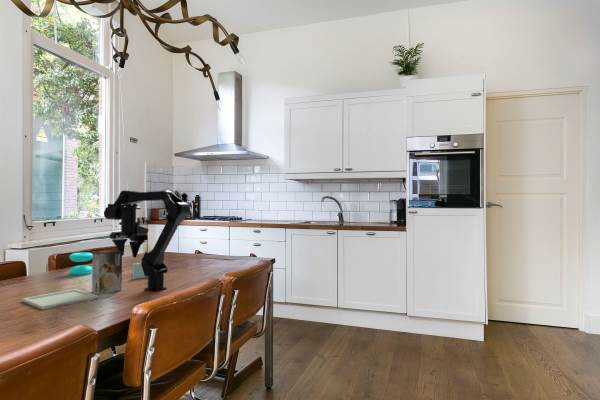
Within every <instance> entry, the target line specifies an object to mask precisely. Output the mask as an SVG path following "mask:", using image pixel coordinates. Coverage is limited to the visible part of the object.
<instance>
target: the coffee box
mask: <svg viewBox="0 0 600 400" xmlns="http://www.w3.org/2000/svg"><path fill="white" fill-rule="evenodd" d="M92 254H93V258H92V259H91V261H92V262H91V263H92V266H91V267H92V273H91V284H92V286H91V292H92V293H93V294H96V295H97V294H98V295H103V294H108V293H113V292H118V291H122V290H123V289H122V288H123V287H122V286H123V285H122V284H123V283H122V281H123V280H122V279H123V278H122V277H123V275H122V274H123V273H122V272H123V271H122V270H123V269H122V268H123V266H122V265H123V256H122V251H118V250H115V249H114V250H101V251H92Z"/></svg>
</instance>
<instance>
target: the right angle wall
mask: <svg viewBox="0 0 600 400" xmlns="http://www.w3.org/2000/svg"><path fill="white" fill-rule="evenodd" d="M143 278H148V276H145V275H144V272H143V268H142V266H141V262H138V263H137V262H136V263H132V279H133V280H136V279H143Z"/></svg>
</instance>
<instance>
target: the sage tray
mask: <svg viewBox="0 0 600 400" xmlns="http://www.w3.org/2000/svg"><path fill="white" fill-rule="evenodd" d="M97 299H98V295H97V294H95V293H90V292H87V291H84V290H81V289H79V288H78V289H77V288H74V289H73V288H72V289H67V290H60V291H57V292H51V293H45V294H40V295H34V296H28V297H22V302H23V303H25V304H28V305H30V306H32V307H35V308H36V309H40V310H41V311H44V310H49V309H53V308H57V307H63V306H68V305H73V304H79V303H82V302H87V301H92V300H97Z"/></svg>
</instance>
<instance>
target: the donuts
mask: <svg viewBox="0 0 600 400" xmlns="http://www.w3.org/2000/svg"><path fill="white" fill-rule="evenodd" d="M92 258H93V252H92V253H91V252H74V253H73V252H72V253H71V254H70V255H69V259H70V261H72V262H78V263H79V262H89V261H90V260H91V261H92ZM68 273H69V274H70V275H72V276H85V275H90V274H92V266H90V265H75V266H73V267H70V269H69V270H68Z"/></svg>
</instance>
